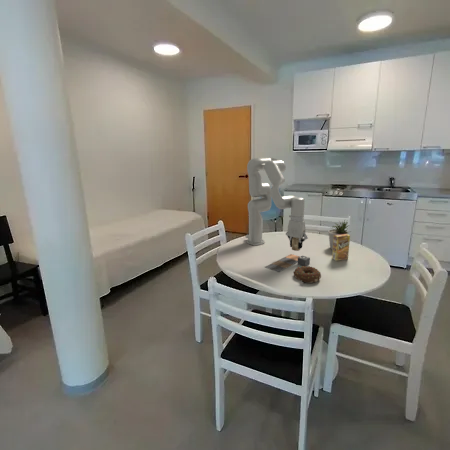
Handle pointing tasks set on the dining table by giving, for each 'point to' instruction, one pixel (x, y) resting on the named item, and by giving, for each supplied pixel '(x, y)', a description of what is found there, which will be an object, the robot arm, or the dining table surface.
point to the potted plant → (337, 232)
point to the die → (303, 261)
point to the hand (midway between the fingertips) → (295, 247)
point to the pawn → (295, 244)
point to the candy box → (340, 247)
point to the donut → (307, 274)
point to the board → (283, 263)
